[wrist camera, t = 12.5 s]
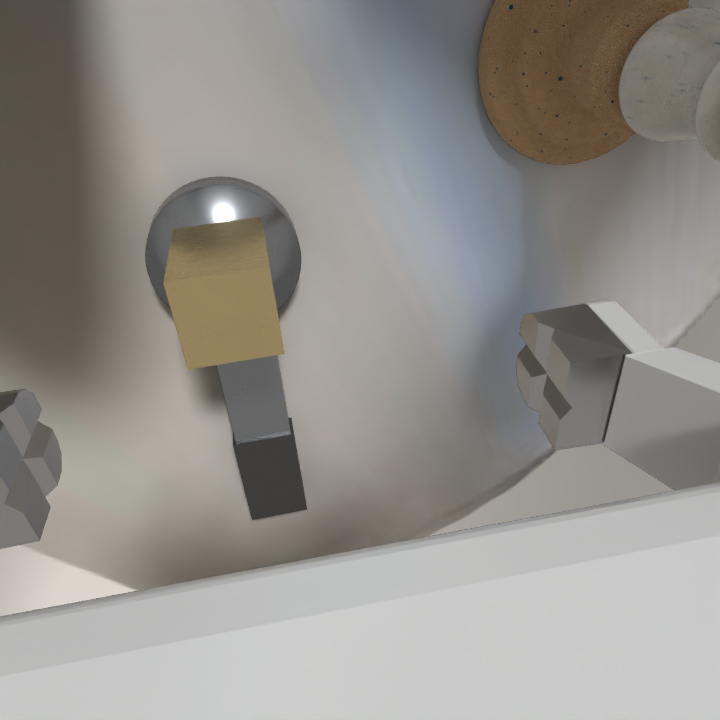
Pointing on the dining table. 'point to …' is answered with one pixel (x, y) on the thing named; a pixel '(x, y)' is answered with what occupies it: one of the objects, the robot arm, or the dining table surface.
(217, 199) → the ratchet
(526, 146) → the candle holder
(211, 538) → the dining table surface
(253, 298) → the tan rectangular block
